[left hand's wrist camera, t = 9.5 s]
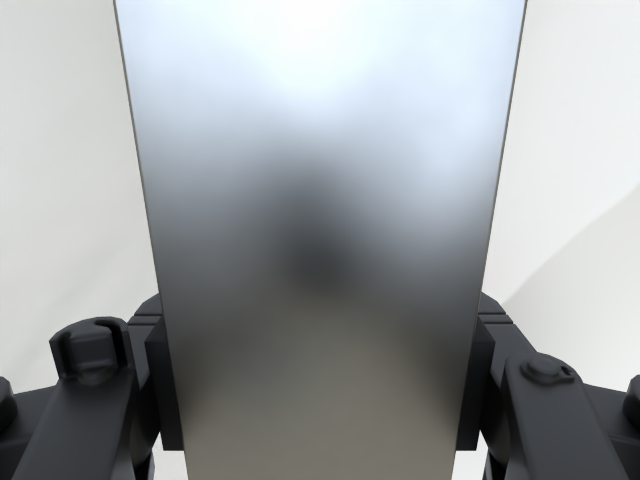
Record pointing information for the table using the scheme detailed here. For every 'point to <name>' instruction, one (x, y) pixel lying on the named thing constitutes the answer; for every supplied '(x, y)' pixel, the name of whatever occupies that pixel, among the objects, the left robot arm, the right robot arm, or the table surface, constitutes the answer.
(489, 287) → the table surface
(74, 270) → the table surface
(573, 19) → the table surface
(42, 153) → the table surface
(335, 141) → the bar
